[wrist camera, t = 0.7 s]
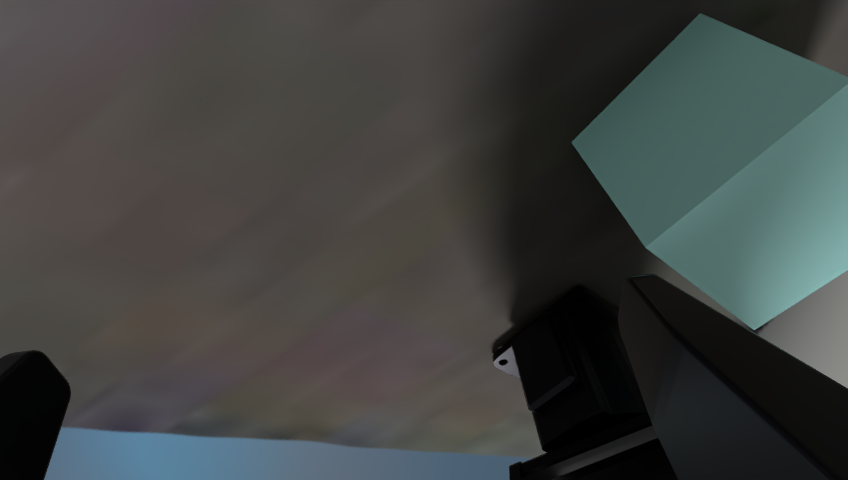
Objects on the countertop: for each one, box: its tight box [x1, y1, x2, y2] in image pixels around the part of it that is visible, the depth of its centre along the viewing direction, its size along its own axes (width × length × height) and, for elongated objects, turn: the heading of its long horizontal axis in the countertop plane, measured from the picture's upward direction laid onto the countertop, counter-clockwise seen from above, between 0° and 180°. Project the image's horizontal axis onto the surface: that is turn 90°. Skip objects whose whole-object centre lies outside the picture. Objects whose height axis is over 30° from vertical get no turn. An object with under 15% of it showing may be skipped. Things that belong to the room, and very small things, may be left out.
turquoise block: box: [571, 13, 848, 330], centre depth 17 cm, size 6×6×7 cm
